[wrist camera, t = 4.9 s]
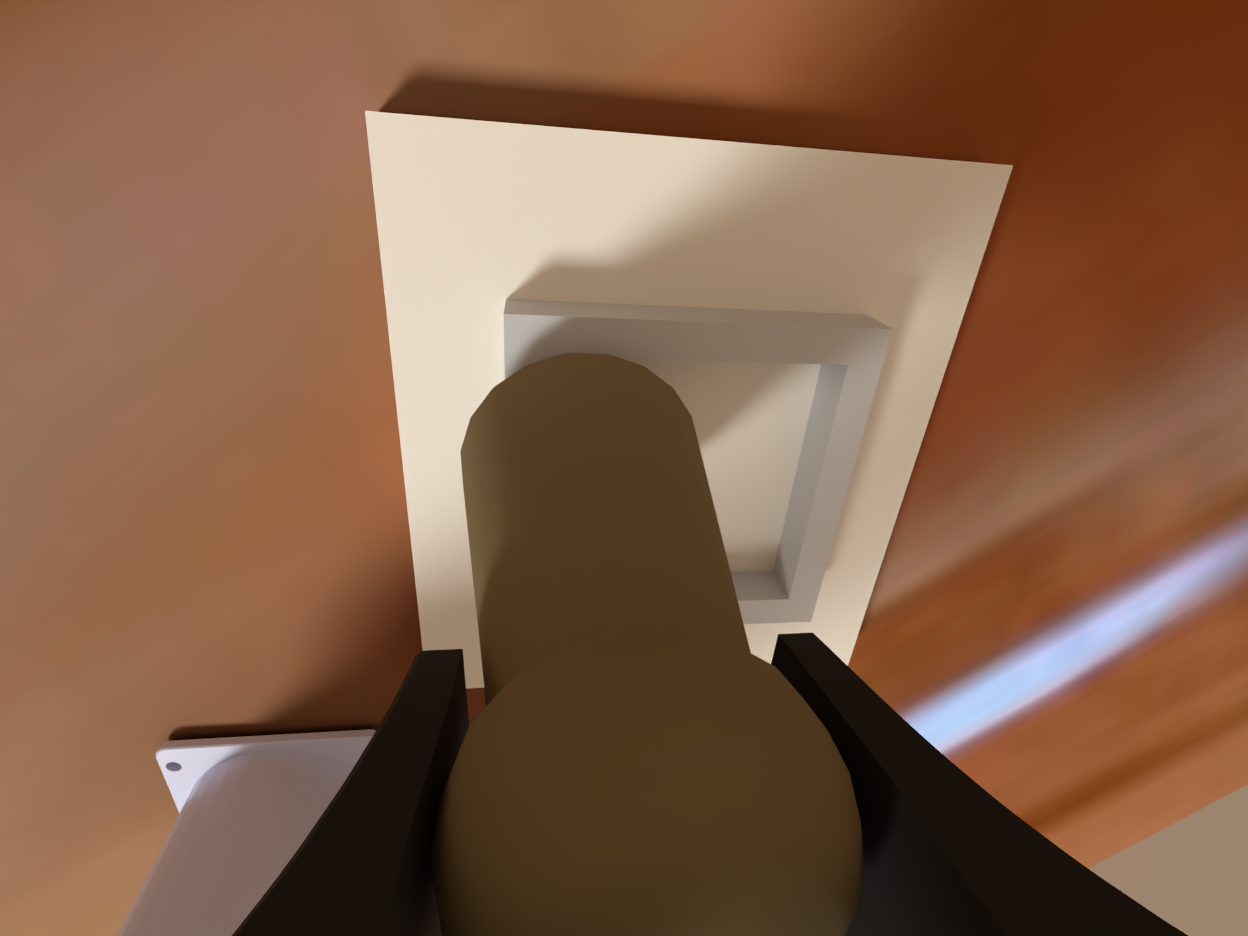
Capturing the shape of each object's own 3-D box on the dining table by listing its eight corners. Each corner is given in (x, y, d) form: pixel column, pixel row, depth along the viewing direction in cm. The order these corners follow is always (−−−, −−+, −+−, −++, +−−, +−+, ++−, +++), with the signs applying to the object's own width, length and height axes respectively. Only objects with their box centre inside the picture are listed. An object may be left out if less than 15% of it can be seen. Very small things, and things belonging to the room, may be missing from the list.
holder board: (833, 648, 26) (863, 700, 23) (431, 665, 23) (420, 725, 21) (983, 163, 17) (1055, 168, 15) (377, 112, 15) (347, 108, 12)
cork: (694, 335, 14) (1024, 765, 5) (702, 540, 18) (913, 1044, 8) (432, 372, 14) (256, 921, 5) (487, 576, 17) (449, 1153, 8)
